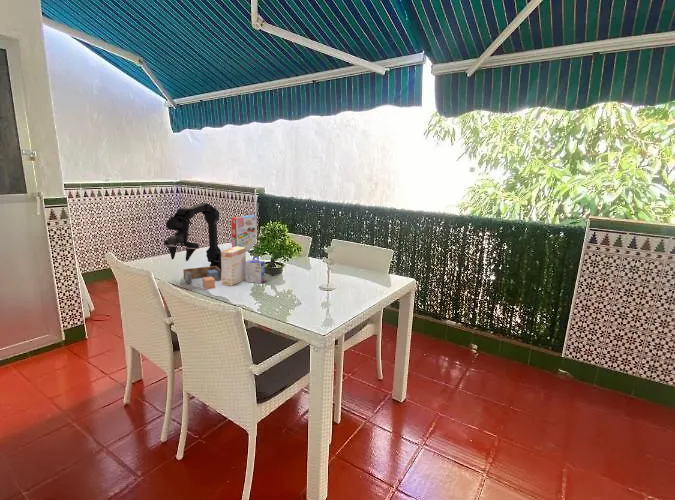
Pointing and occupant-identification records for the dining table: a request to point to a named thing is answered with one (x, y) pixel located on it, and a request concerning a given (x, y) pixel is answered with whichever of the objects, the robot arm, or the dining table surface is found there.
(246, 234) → the game box
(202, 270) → the shelf
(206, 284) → the salmon rectangular block
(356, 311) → the dining table surface
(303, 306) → the dining table surface
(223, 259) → the coffeecake box
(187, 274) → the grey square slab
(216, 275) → the blue-grey plain cube block
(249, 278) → the ink cartridge box
